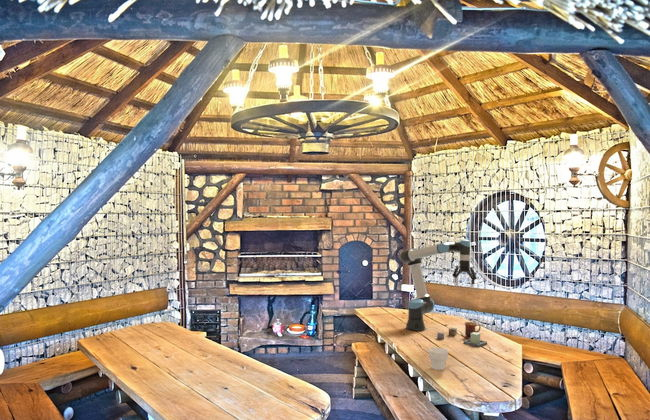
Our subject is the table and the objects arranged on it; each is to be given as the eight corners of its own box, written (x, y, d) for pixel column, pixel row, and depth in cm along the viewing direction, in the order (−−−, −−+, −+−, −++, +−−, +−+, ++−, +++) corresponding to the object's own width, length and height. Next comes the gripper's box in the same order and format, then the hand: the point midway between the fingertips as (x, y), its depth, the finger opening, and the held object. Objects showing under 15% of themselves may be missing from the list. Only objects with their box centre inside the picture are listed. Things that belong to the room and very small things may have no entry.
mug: (465, 337, 393) (465, 324, 393) (463, 334, 402) (463, 321, 401) (481, 338, 392) (481, 325, 392) (479, 335, 400) (479, 322, 400)
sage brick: (470, 342, 377) (470, 333, 377) (474, 341, 381) (474, 332, 380) (476, 344, 373) (476, 334, 373) (480, 343, 377) (480, 333, 377)
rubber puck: (435, 338, 390) (436, 333, 390) (439, 337, 394) (439, 332, 394) (441, 339, 387) (441, 334, 387) (445, 338, 390) (445, 333, 390)
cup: (425, 369, 319) (426, 351, 319) (430, 363, 330) (430, 346, 330) (446, 372, 314) (446, 354, 314) (450, 366, 325) (450, 348, 325)
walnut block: (448, 335, 400) (448, 328, 400) (450, 333, 405) (450, 327, 405) (454, 336, 398) (455, 329, 398) (456, 334, 402) (456, 328, 402)
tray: (463, 343, 377) (463, 341, 377) (472, 340, 385) (472, 338, 385) (478, 347, 369) (478, 344, 368) (487, 344, 377) (487, 341, 377)
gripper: (448, 258, 410) (447, 285, 410) (476, 261, 391) (476, 289, 392) (453, 258, 415) (453, 284, 415) (481, 261, 397) (481, 288, 397)
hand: (464, 287), depth 404 cm, fingers open, 13 cm apart
